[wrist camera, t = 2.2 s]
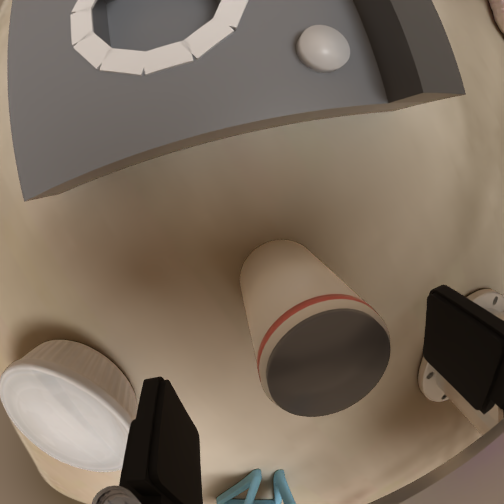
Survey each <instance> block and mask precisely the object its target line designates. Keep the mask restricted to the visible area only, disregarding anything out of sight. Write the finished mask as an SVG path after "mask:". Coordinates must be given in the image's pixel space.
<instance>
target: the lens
mask: <svg viewBox="0 0 504 504" xmlns="http://www.w3.org/2000/svg"><path fill="white" fill-rule="evenodd" d="M240 287H241V292H242V297H243V302H244V306H245V311H246V316H247V320H248V325H249V330H250V334H251V339H252V343H253V348H254V352H255V357H256V362H257V368H258V373H259V377H260V381H261V384H262V387H263V389H264V392H265V393H266V395H267V396H268V397H269V398H270V400H271V401H272V402H274V403H275V404H276V405H278V406H279V407H281V408H282V409H284V410H285V411H287V412H289V413H292V414H295V415H299V416H306V417H317V416H324V415H329V414H333V413H336V412H339V411H341V410H344V409H346V408H348V407H350V406H352V405H353V404H355V403H356V402H358V401H359V400H361V399H362V398H363V397H365V396H366V395H367V394H368V393H369V392H370V391H371V390H372V389H373V388H374V387H375V386H376V384H377V383H378V382H379V380H380V379H381V377H382V376H383V374H384V372H385V370H386V367H387V365H388V361H389V357H390V338H389V332H388V329H387V326H386V324H385V322H384V321H383V319H382V318H381V317H380V316H379V314H378V313H377V312H376V311H375V310H374V309H373V308H372V307H371V306H370V305H369V304H367V303H366V302H365V301H364V300H362V299H361V298H360V297H359V296H358V295H357V294H356V293H355V292H354V291H353V290H352V289H351V288H350V287H349V286H347V285H346V284H345V283H344V282H343V281H342V280H341V279H340V278H339V277H338V276H337V275H335V274H334V273H333V272H332V271H331V270H330V269H329V268H328V267H327V266H326V265H324V264H323V263H322V262H321V261H320V260H319V259H318V258H317V257H316V256H314V255H313V254H312V253H311V252H310V251H309V250H308V249H307V248H305V247H304V246H303V245H301V244H299V243H297V242H294V241H290V240H274V241H270V242H267V243H265V244H263V245H261V246H259V247H258V248H256V249H255V250H254V251H253V252H252V253H251V254H250V255H249V256H248V257H247V259H246V260H245V262H244V264H243V266H242V269H241V273H240Z"/></svg>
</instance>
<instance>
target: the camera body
mask: <svg viewBox="0 0 504 504" xmlns="http://www.w3.org/2000/svg"><path fill="white" fill-rule="evenodd" d="M460 95H465V90H464V86H463V82H462V79H461V76H460V72H459V69H458V66H457V63H456V60H455V57H454V54H453V51H452V48H451V45H450V43H449V40H448V37H447V35H446V32H445V30H444V27H443V25H442V22H441V20H440V18H439V16H438V13H437V11H436V9H435V7H434V5H433V2H432V0H13V1H12V8H11V16H10V25H9V38H8V100H9V113H10V124H11V132H12V140H13V147H14V153H15V159H16V165H17V170H18V175H19V180H20V185H21V189H22V193H23V198H24V202H25V201H29V200H34V199H38V198H43V197H47V196H52V195H57V194H60V193H63V192H65V191H67V190H70V189H72V188H74V187H77V186H79V185H82V184H84V183H86V182H89V181H91V180H94V179H97V178H99V177H102V176H104V175H107V174H110V173H112V172H115V171H118V170H120V169H123V168H126V167H129V166H132V165H135V164H138V163H140V162H143V161H146V160H149V159H153V158H156V157H159V156H162V155H165V154H168V153H172V152H175V151H178V150H182V149H185V148H189V147H192V146H196V145H200V144H203V143H207V142H211V141H215V140H219V139H223V138H227V137H231V136H235V135H239V134H244V133H248V132H253V131H257V130H262V129H267V128H272V127H277V126H282V125H288V124H293V123H299V122H305V121H311V120H318V119H324V118H331V117H339V116H347V115H355V114H365V113H375V112H387V111H395V110H399V109H403V108H407V107H411V106H415V105H419V104H423V103H427V102H432V101H436V100H441V99H445V98H450V97H455V96H460Z"/></svg>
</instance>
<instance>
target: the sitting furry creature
mask: <svg viewBox="0 0 504 504" xmlns="http://www.w3.org/2000/svg"><path fill="white" fill-rule="evenodd" d="M489 3H490V6H491V9H492V11H493V15H494V20H495V22H496V24H497V25H498V27H499V29H500V30H501V32H502V33H503V35H504V0H489Z"/></svg>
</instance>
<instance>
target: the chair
mask: <svg viewBox="0 0 504 504" xmlns="http://www.w3.org/2000/svg"><path fill="white" fill-rule="evenodd" d="M261 479H262V476H261V470H260V469H255V470H253V471H252V472H251V473H250V474H249V475H247V476H246V477H245V478H244V479H243V480H241V481H240V482H238V483H237V484H236V485H234V486H233V487H231V488H230V489H228V490H227V491H225V492H224V493H222V494H221V495H219V496H218V497H217V498H216V501H217V504H281V502H282V499H283V502H284V504H296V503H295V501H294V499H293V496H292V494H291V491H290V489H289V487H288V484H287V481H286V479H285V474H284V470H278V471H276V472H275V474H274V479H273V485H274V496H275V499H274V500H254V499H255V496H256V493H257V490H258V488H259V485H260V482H261ZM248 488H249V490H248V493H247V496H246V499H245V500H241V499H232V498H233V497H235V496H237V495H239V494H240V493H242V492H244V491H245V490H247V489H248Z"/></svg>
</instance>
